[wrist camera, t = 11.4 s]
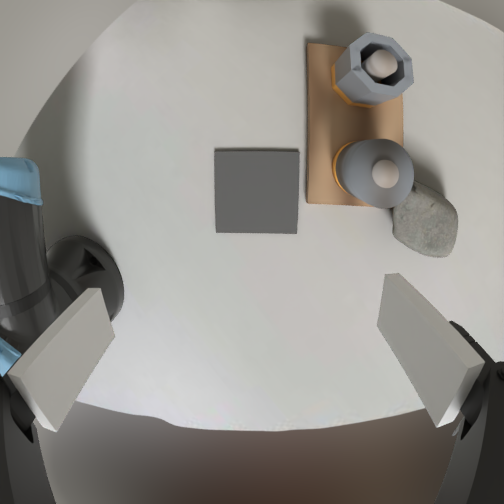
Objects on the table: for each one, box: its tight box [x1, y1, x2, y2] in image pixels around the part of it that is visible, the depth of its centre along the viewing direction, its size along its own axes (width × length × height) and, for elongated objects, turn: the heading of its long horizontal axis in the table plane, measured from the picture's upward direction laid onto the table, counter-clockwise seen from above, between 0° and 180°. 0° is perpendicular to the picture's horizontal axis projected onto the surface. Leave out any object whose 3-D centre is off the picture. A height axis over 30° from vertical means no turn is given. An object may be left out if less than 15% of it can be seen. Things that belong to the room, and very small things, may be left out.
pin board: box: [306, 43, 414, 208], centre depth 26 cm, size 12×20×10 cm, turn 0°
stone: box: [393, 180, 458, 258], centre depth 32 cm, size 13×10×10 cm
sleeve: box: [331, 32, 414, 108], centre depth 24 cm, size 7×7×8 cm
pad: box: [215, 151, 300, 234], centre depth 34 cm, size 10×10×1 cm
